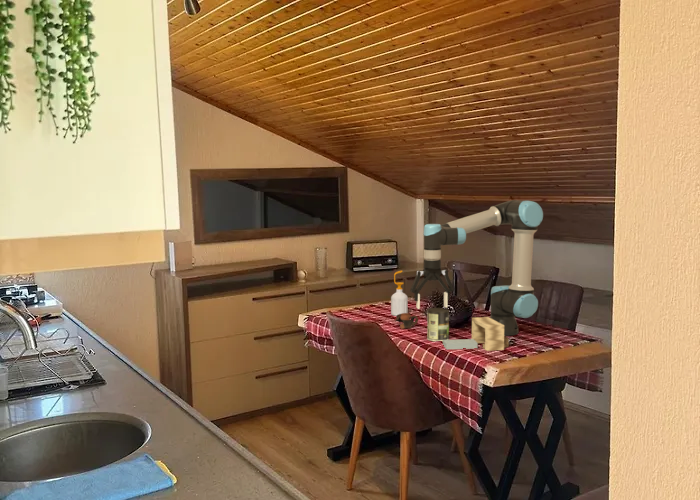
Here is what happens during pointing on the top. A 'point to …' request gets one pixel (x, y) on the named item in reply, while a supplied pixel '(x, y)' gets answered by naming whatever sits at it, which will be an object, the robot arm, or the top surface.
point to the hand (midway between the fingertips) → (431, 307)
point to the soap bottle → (399, 299)
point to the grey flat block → (460, 344)
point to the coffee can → (437, 324)
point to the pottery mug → (406, 320)
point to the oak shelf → (489, 333)
